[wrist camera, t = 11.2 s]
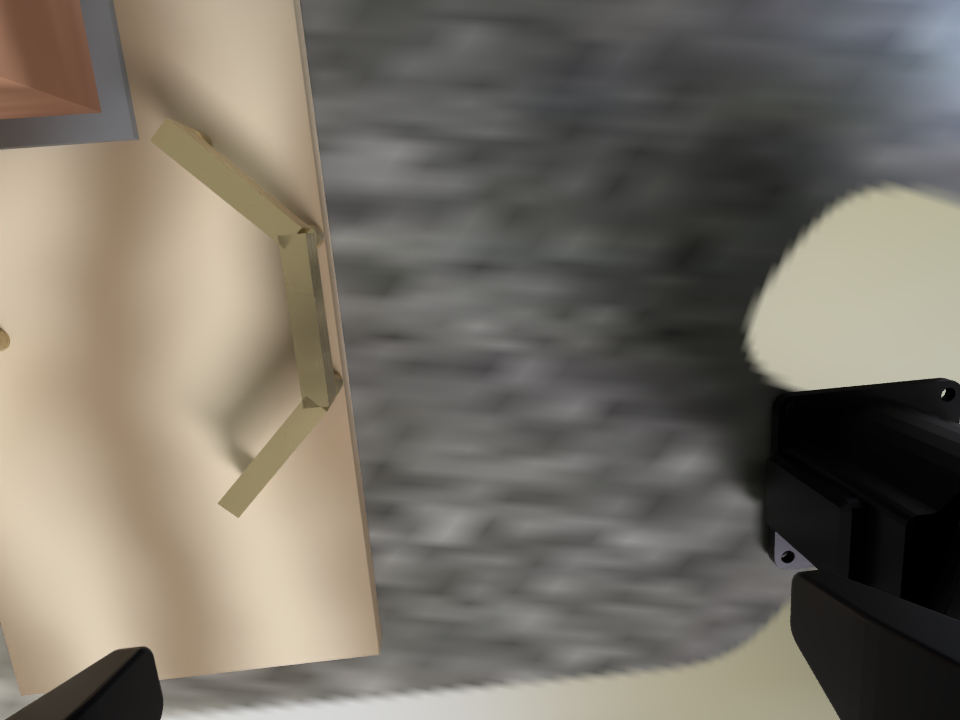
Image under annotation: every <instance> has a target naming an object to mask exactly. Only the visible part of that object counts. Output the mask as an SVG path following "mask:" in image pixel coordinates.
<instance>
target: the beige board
mask: <svg viewBox="0 0 960 720" xmlns="http://www.w3.org/2000/svg"><path fill="white" fill-rule="evenodd" d="M79 1H80V6H81V11H82V16H83V21H84V26H85V31H86V36H87V41H88V46H89V51H90V56H91V62H92V67H93V72H94V77H95V82H96V87H97V92H98V97H99V102H100V107H101V112H102V113H90V114H75V115H60V116H44V117H29V118H14V119H0V329H3V330H4V331H5V332H6V333H7V334H8V335H9V337H10V345H9V347H8V348H7V349H5V350H3V351H0V622H1V626H2V629H3V633H4V636H5V640H6V643H7V647H8V651H9V654H10V658H11V661H12V665H13V668H14V672H15V675H16V679H17V682H18V686H19V690H20V693H21V696H22V695H31V694H40V693H48V692H50V691H51V690H53V689H54V688H56V687H57V686H59V685H61V684H62V683H64V682H65V681H67V680H68V679H70V678H72V677H73V676H75V675H76V674H78V673H79V672H81V671H83V670H84V669H86V668H87V667H89V666H90V665H92V664H94V663H95V662H97V661H98V660H100V659H102V658H103V657H105V656H106V655H108V654H109V653H111V652H113V651H114V650H117V649H122V648H131V647H140V646H146V647H148V648H149V649H151V651H152V652H153V655H154V659H155V663H156V668H157V672H158V677H159V680H162V679H171V678H179V677H188V676H197V675H205V674H214V673H223V672H232V671H240V670H249V669H258V668H267V667H275V666H284V665H293V664H301V663H310V662H319V661H328V660H336V659H345V658H354V657H362V656H371V655H379V653H380V646H381V639H382V632H381V624H380V616H379V609H378V601H377V593H376V585H375V578H374V570H373V562H372V555H371V547H370V539H369V531H368V524H367V516H366V508H365V501H364V493H363V485H362V477H361V470H360V462H359V454H358V447H357V439H356V431H355V423H354V416H353V408H352V400H351V393H350V385H349V377H348V369H347V362H346V354H345V346H344V339H343V331H342V323H341V315H340V308H339V300H338V292H337V285H336V277H335V269H334V261H333V254H332V246H331V238H330V231H329V223H328V215H327V207H326V200H325V192H324V184H323V177H322V169H321V161H320V153H319V146H318V138H317V130H316V123H315V115H314V107H313V99H312V92H311V84H310V76H309V69H308V61H307V53H306V45H305V38H304V30H303V22H302V15H301V7H300V0H79ZM166 118H169V119H171V120H174V121H176V122H178V123H181V124H184V125H186V126H188V127H191V128H193V129H195V130H198V131H200V132H203V133H205V134H206V135H208V136H209V138H210V139H211V141H212V147H213V148H214V149H216V150H217V151H218V152H219V153H220V154H222V155H223V156H224V157H225V158H226V159H228V160H229V161H230V162H231V163H233V164H234V165H235V166H236V167H237V168H239V169H240V170H241V171H242V172H244V173H245V174H246V175H247V176H248V177H250V178H251V179H252V180H253V181H255V182H256V183H257V184H258V185H259V186H261V187H262V188H263V189H264V190H266V191H267V192H268V193H269V194H270V195H272V196H273V197H274V198H275V199H277V200H278V201H279V202H280V203H281V204H283V205H284V206H285V207H286V208H287V209H289V210H290V211H291V212H292V213H294V214H295V215H296V216H297V217H298V218H300V219H301V220H302V221H303V222H305V223H306V224H310V225H316V226H318V227H319V228H321V230H322V231H323V233H324V242H323V244H322V245H321V246H320V247H318V248H317V253H318V260H319V267H320V275H321V282H322V290H323V297H324V304H325V312H326V319H327V327H328V334H329V342H330V349H331V356H332V364H333V371H334V372H337V373H339V374H340V375H341V376H342V378H343V387H342V388H341V390H340V392H339V393H338V395H337V396H336V398H335V400H334V401H333V403H332V404H331V406H330V408H329V409H328V411H327V412H326V413H325V415H324V416H323V417H322V418H321V419H320V421H319V422H318V423H317V424H316V425H315V427H314V428H313V429H312V430H311V431H310V433H309V434H308V435H307V436H306V437H305V439H304V440H303V441H302V442H301V444H300V445H299V446H298V447H297V448H296V450H295V451H294V452H293V453H292V454H291V456H290V457H289V458H288V459H287V460H286V462H285V463H284V464H283V465H282V466H281V468H280V469H279V470H278V471H277V472H276V474H275V475H274V476H273V477H272V478H271V480H270V481H269V482H268V483H267V484H266V486H265V487H264V488H263V489H262V490H261V492H260V493H259V494H258V495H257V496H256V498H255V499H254V500H253V501H252V502H251V504H250V505H249V506H248V507H247V508H246V510H245V511H244V512H243V513H242V514H241V516H240V517H239V518H237V517H236V516H235V515H233V514H232V513H230V512H229V511H227V510H226V509H224V508H223V507H221V506H220V505H219V504H217V503H218V502H219V501H220V500H221V499H222V497H223V496H224V495H225V494H226V492H227V491H228V490H229V489H230V488H231V486H232V485H233V484H234V483H235V481H236V480H237V479H238V478H239V477H240V475H241V474H242V473H243V472H244V470H245V469H246V468H247V467H248V466H249V464H250V463H251V462H252V461H253V460H254V458H255V457H256V456H257V455H258V454H259V452H260V451H261V450H262V449H263V447H264V446H265V445H266V444H267V443H268V441H269V440H270V439H271V438H272V436H273V435H274V434H275V433H276V432H277V430H278V429H279V428H280V427H281V426H282V424H283V423H284V422H285V421H286V419H287V418H288V417H289V416H290V415H291V413H292V412H293V411H294V410H295V409H296V407H297V406H298V405H299V404H300V402H301V401H302V397H301V391H300V384H299V377H298V370H297V364H296V357H295V350H294V343H293V337H292V330H291V323H290V316H289V310H288V303H287V296H286V289H285V283H284V276H283V269H282V262H281V255H280V249H279V244H278V243H277V242H275V241H274V240H273V239H272V238H270V237H269V236H268V235H267V234H265V233H264V232H263V231H262V230H260V229H259V228H258V227H257V226H255V225H254V224H253V223H252V222H250V221H249V220H248V219H247V218H245V217H244V216H243V215H242V214H240V213H239V212H238V211H237V210H236V209H234V208H233V207H232V206H231V205H229V204H228V203H227V202H226V201H224V200H223V199H222V198H221V197H219V196H218V195H217V194H216V193H214V192H213V191H212V190H211V189H209V188H208V187H207V186H206V185H204V184H203V183H202V182H201V181H199V180H198V179H197V178H196V177H194V176H193V175H192V174H191V173H189V172H188V171H187V170H186V169H184V168H183V167H182V166H181V165H180V164H178V163H177V162H176V161H175V160H173V159H172V158H171V157H170V156H168V155H167V154H166V153H165V152H163V151H162V150H161V149H160V148H158V147H157V146H156V145H155V144H153V143H152V142H151V141H150V140H151V138H152V137H153V135H154V134H155V133H156V131H157V130H158V129H159V127H160V126H161V125H162V123H163V122H164V120H165V119H166Z"/></svg>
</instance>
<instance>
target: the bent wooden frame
mask: <svg viewBox="0 0 960 720" xmlns="http://www.w3.org/2000/svg"><path fill="white" fill-rule="evenodd" d="M150 141H151V142H152V143H153V144H155V145H156V146H157V147H158V148H160V149H161V150H162V151H163V152H165V153H166V154H167V155H168V156H170V157H171V158H172V159H173V160H175V161H176V162H177V163H178V164H180V165H181V166H182V167H183V168H184V169H186V170H187V171H188V172H189V173H191V174H192V175H193V176H194V177H196V178H197V179H198V180H199V181H201V182H202V183H203V184H204V185H206V186H207V187H208V188H209V189H211V190H212V191H213V192H214V193H216V194H217V195H218V196H219V197H221V198H222V199H223V200H224V201H226V202H227V203H228V204H229V205H231V206H232V207H233V208H234V209H236V210H237V211H238V212H239V213H240V214H242V215H243V216H244V217H245V218H247V219H248V220H249V221H250V222H252V223H253V224H254V225H255V226H257V227H258V228H259V229H260V230H262V231H263V232H264V233H265V234H267V235H268V236H269V237H270V238H272V239H273V240H274V241H275V242H277V243H278V244H279V249H280V255H281V262H282V269H283V276H284V283H285V289H286V296H287V303H288V310H289V316H290V323H291V330H292V337H293V343H294V350H295V357H296V364H297V370H298V377H299V384H300V391H301V397H302V401H301V402H300V404H299V405H298V406H297V407H296V409H295V410H294V411H293V412H292V413H291V415H290V416H289V417H288V418H287V419H286V421H285V422H284V423H283V424H282V426H281V427H280V428H279V429H278V430H277V432H276V433H275V434H274V435H273V436H272V438H271V439H270V440H269V441H268V443H267V444H266V445H265V446H264V447H263V449H262V450H261V451H260V452H259V454H258V455H257V456H256V457H255V458H254V460H253V461H252V462H251V463H250V464H249V466H248V467H247V468H246V469H245V470H244V472H243V473H242V474H241V475H240V477H239V478H238V479H237V480H236V481H235V483H234V484H233V485H232V486H231V488H230V489H229V490H228V491H227V492H226V494H225V495H224V496H223V497H222V499H221V500H220V501H219V502H218V503H217V504H219V505H220V506H221V507H223V508H224V509H226V510H227V511H229V512H230V513H232V514H233V515H235V516H236V517H237V518H239V517H240V516H241V514H242V513H243V512H244V511H245V510H246V508H247V507H248V506H249V505H250V504H251V502H252V501H253V500H254V499H255V498H256V496H257V495H258V494H259V493H260V492H261V490H262V489H263V488H264V487H265V486H266V484H267V483H268V482H269V481H270V480H271V478H272V477H273V476H274V475H275V474H276V472H277V471H278V470H279V469H280V468H281V466H282V465H283V464H284V463H285V462H286V460H287V459H288V458H289V457H290V456H291V454H292V453H293V452H294V451H295V450H296V448H297V447H298V446H299V445H300V444H301V442H302V441H303V440H304V439H305V437H306V436H307V435H308V434H309V433H310V431H311V430H312V429H313V428H314V427H315V425H316V424H317V423H318V422H319V421H320V419H321V418H322V417H323V416H324V415H325V413H326V412H327V411H328V409H329V408H330V406H331V404H332V403H333V401H334V400H335V398H336V396H337V395H338V393H339V392H340V390H341V388H342V387H343V378H342V376H341V375H340V374H339V373H337V372H334V371H333V364H332V356H331V349H330V342H329V334H328V327H327V319H326V312H325V304H324V297H323V290H322V282H321V275H320V267H319V260H318V253H317V248H318V247H320V246H321V245H322V244H323V242H324V233H323V231H322V230H321V228H319V227H318V226H316V225H310V224H306V223H305V222H303V221H302V220H301V219H300V218H298V217H297V216H296V215H295V214H294V213H292V212H291V211H290V210H289V209H287V208H286V207H285V206H284V205H283V204H281V203H280V202H279V201H278V200H277V199H275V198H274V197H273V196H272V195H270V194H269V193H268V192H267V191H266V190H264V189H263V188H262V187H261V186H259V185H258V184H257V183H256V182H255V181H253V180H252V179H251V178H250V177H248V176H247V175H246V174H245V173H244V172H242V171H241V170H240V169H239V168H237V167H236V166H235V165H234V164H233V163H231V162H230V161H229V160H228V159H226V158H225V157H224V156H223V155H222V154H220V153H219V152H218V151H217V150H216V149H214V148H213V147H212V141H211V139H210V138H209V136H208V135H206V134H205V133H203V132H200V131H198V130H195V129H193V128H191V127H188V126H186V125H184V124H181V123H178V122H176V121H174V120H171V119H169V118H166V119H165V120H164V122H163V123H162V125H161V126H160V127H159V129H158V130H157V131H156V133H155V134H154V135H153V137H152V138H151V140H150ZM9 345H10V337H9V335H8V334H7V333H6V332H5V331H4V330H3V329H0V351H3V350H5V349H7V348H8V347H9Z"/></svg>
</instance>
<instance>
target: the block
mask: <svg viewBox="0 0 960 720" xmlns="http://www.w3.org/2000/svg"><path fill="white" fill-rule="evenodd" d="M90 113H102V112H101V107H100V102H99V97H98V92H97V87H96V82H95V77H94V72H93V67H92V62H91V56H90V51H89V46H88V41H87V36H86V31H85V26H84V21H83V16H82V11H81V6H80V1H79V0H0V119H14V118H29V117H44V116H60V115H75V114H90Z"/></svg>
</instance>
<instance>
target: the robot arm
mask: <svg viewBox="0 0 960 720" xmlns="http://www.w3.org/2000/svg"><path fill="white" fill-rule="evenodd" d="M945 389H946V393H945V395H944V396H943V397H942V398H941V394H942V391H944V390H945ZM791 403H793V409H792V411H791V412H790V413H787V414H786V407H787V406H788V405H789V404H791ZM959 422H960V384H959V383H957V382H955V381H952V380H949V379H945V378H935V379H923V380H913V381H903V382H892V383H882V384H872V385H861V386H852V387H841V388H830V389H820V390H810V391H799V392H789V393H784V394H781V395H780V396H778V397H777V398H776V399H775V401H774V402H773V406H772V433H771V454H770V456H769V458H768V459H767V484H766V523H767V524H768V525H769V552H768V553H769V557H770V559H771V560H772V561H773V562H774V563H775V564H776V565H777V566H778V567H779V568H781V569H787V570H788V569H797V568H806V567H816V568H817V569H818V570H813V571H804V572H798V573H797V574H795V575H794V577H793V579H792V587H791V616H790V623H791V624H790V625H791V631H792V634H793V637H794V640H795V642H796V644H797V645H798V647H799V649H800V651H801V652H802V654H803V656H804V658H805V659H806V661H807V663H808V665H809V666H810V668H811V670H812V671H813V673H814V675H815V677H816V678H817V680H818V682H819V683H820V685H821V687H822V689H823V690H824V692H825V694H826V696H827V697H828V699H829V701H830V703H831V704H832V706H833V708H834V709H835V711H836V713H837V715H838V716H839V718H840V720H960V424H959ZM788 550H789V551H788ZM785 551H788V554H787V555H786V556H785V557H782V558H781V556H782V554H783V553H784V552H785ZM162 711H163V694H162V690H161V685H160V681H159V677H158V672H157V668H156V663H155V659H154V655H153V652H152V651H151V649H149V648H148V647H146V646H140V647H131V648H122V649H117V650H114V651H113V652H111V653H109V654H108V655H106V656H105V657H103V658H102V659H100V660H98V661H97V662H95V663H94V664H92V665H90V666H89V667H87V668H86V669H84V670H83V671H81V672H79V673H78V674H76V675H75V676H73V677H72V678H70V679H68V680H67V681H65V682H64V683H62V684H61V685H59V686H57V687H56V688H54V689H53V690H51V691H50V692H48V693H46V694H45V695H43V696H42V697H40V698H39V699H37V700H35V701H34V702H32V703H31V704H29V705H28V706H26V707H24V708H23V709H21V710H20V711H18V712H16V713H15V714H13V715H12V716H10V717H9V718H7V719H5V720H160V719H161V716H162Z"/></svg>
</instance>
